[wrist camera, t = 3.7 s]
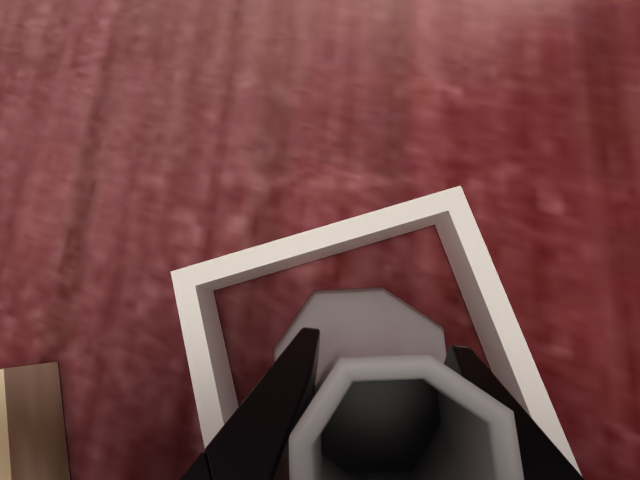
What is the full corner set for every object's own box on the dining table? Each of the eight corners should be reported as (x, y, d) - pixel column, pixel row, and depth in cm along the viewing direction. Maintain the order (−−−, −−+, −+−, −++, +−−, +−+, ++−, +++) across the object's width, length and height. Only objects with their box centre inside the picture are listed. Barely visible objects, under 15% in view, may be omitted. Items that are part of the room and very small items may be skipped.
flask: (246, 442, 14) (38, 707, 4) (299, 265, 16) (234, 164, 6) (431, 504, 13) (689, 1003, 3) (467, 311, 15) (719, 284, 5)
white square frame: (561, 491, 13) (600, 520, 11) (255, 587, 13) (240, 634, 11) (445, 202, 16) (460, 185, 14) (191, 278, 16) (170, 271, 14)
